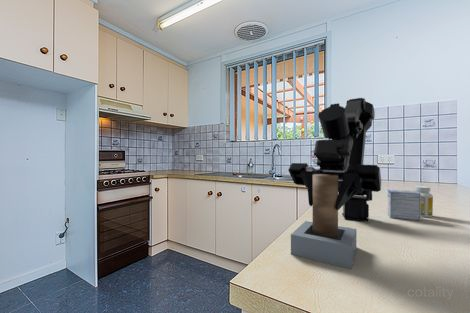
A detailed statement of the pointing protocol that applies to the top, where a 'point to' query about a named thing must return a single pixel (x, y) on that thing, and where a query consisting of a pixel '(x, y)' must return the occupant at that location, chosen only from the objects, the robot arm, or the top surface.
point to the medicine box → (404, 204)
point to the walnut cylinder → (325, 205)
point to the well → (324, 245)
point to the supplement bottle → (425, 201)
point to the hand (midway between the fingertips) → (323, 206)
